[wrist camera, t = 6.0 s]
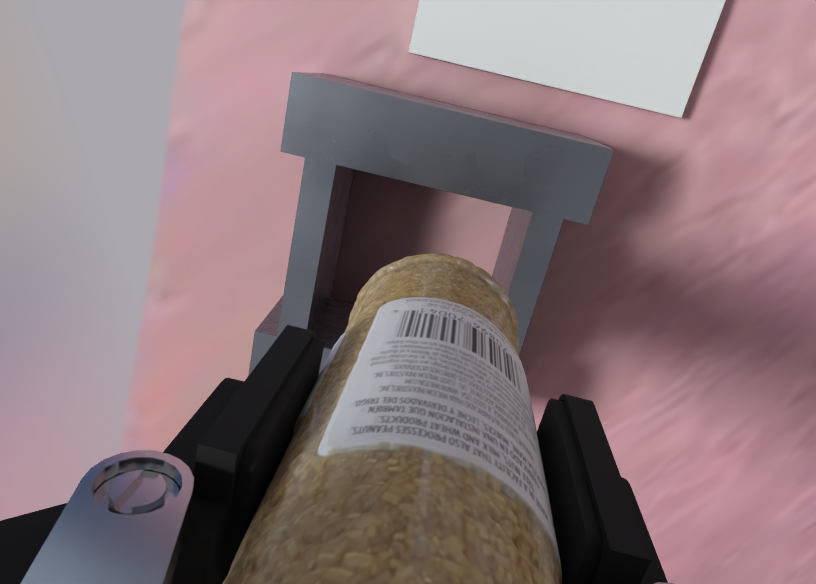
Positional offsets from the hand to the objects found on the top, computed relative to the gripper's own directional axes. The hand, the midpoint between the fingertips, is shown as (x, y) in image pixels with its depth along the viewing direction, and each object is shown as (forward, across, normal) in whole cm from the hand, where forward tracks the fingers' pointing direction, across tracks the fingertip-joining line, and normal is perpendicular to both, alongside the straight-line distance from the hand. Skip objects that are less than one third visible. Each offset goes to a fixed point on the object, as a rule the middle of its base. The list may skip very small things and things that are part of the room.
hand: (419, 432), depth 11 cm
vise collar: (+13, +1, 0) cm, 13 cm away
